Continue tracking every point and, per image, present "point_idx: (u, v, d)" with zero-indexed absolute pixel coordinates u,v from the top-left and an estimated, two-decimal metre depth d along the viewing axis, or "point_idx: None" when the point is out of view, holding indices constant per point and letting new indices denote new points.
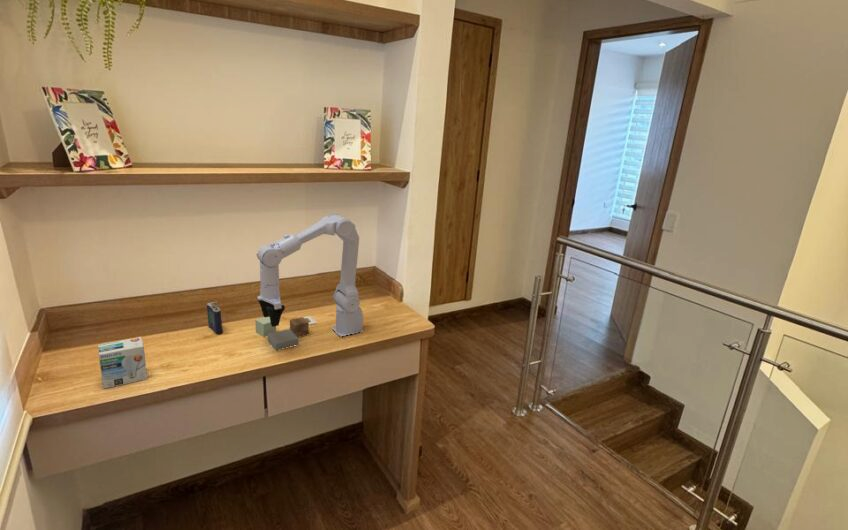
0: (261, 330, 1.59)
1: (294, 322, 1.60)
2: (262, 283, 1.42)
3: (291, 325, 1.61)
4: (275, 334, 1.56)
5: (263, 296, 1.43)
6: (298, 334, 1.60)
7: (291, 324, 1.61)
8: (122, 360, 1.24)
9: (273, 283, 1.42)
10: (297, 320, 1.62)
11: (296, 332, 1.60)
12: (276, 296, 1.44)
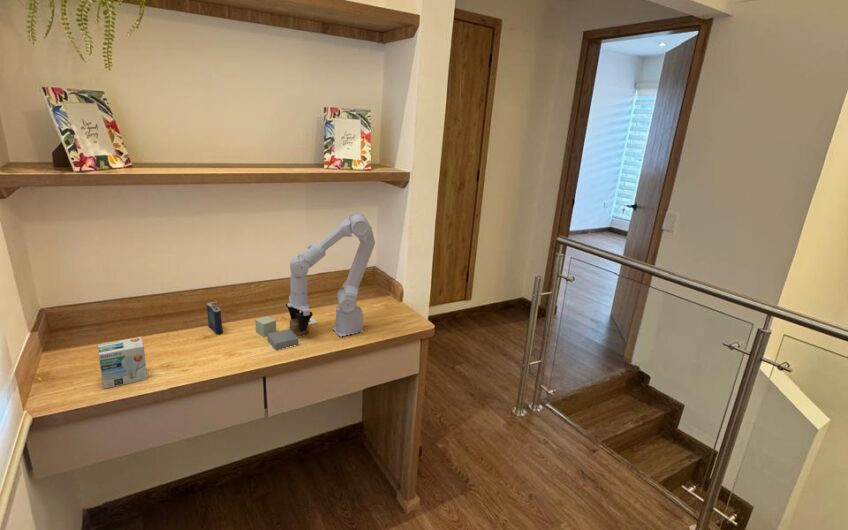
0: (261, 330, 1.59)
1: (294, 322, 1.60)
2: (291, 291, 1.56)
3: (291, 325, 1.61)
4: (275, 334, 1.56)
5: (293, 303, 1.57)
6: (298, 334, 1.60)
7: (291, 324, 1.61)
8: (122, 360, 1.24)
9: (299, 292, 1.55)
10: (297, 320, 1.62)
11: (296, 332, 1.60)
12: (304, 303, 1.58)
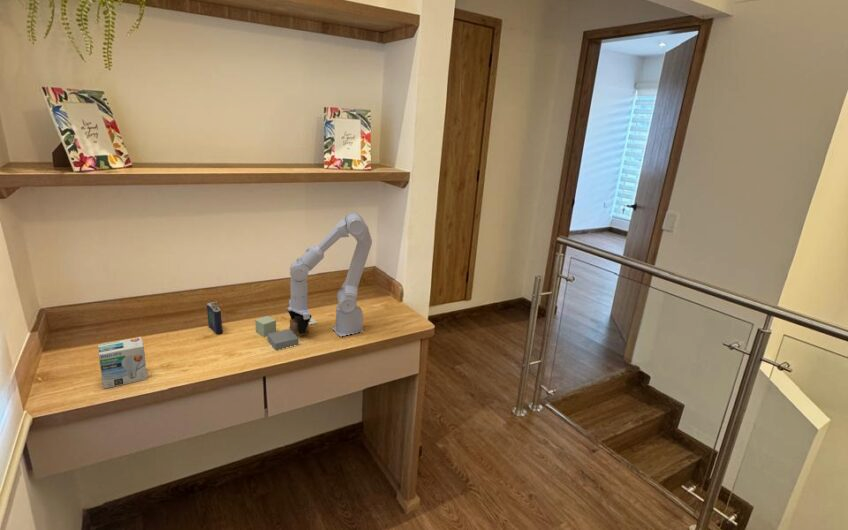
0: (261, 330, 1.59)
1: (294, 322, 1.60)
2: (291, 294, 1.57)
3: (291, 325, 1.61)
4: (275, 334, 1.56)
5: (293, 307, 1.57)
6: (298, 334, 1.60)
7: (291, 324, 1.61)
8: (122, 360, 1.24)
9: (299, 296, 1.56)
10: None
11: (296, 332, 1.60)
12: (304, 307, 1.58)
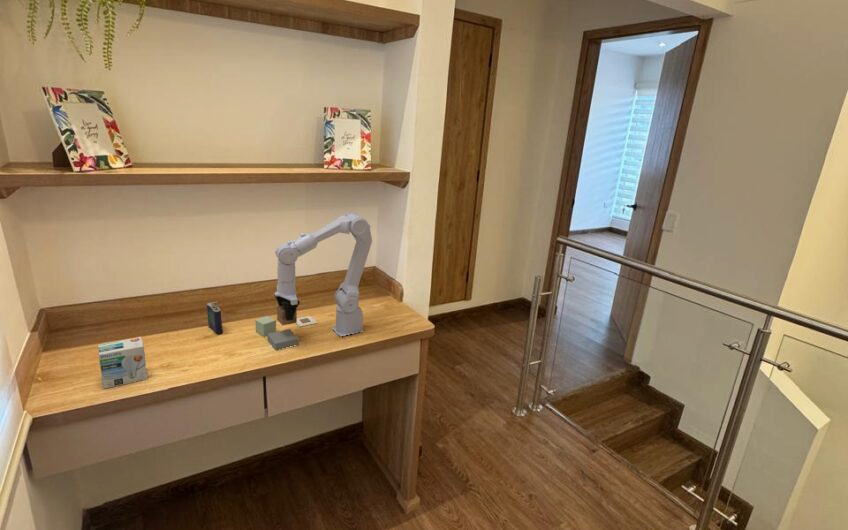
0: (261, 330, 1.59)
1: (282, 309, 1.53)
2: (279, 279, 1.49)
3: (278, 312, 1.54)
4: (275, 334, 1.56)
5: (280, 292, 1.50)
6: (285, 321, 1.53)
7: (278, 311, 1.54)
8: (122, 360, 1.24)
9: (289, 280, 1.48)
10: None
11: (283, 319, 1.52)
12: (292, 292, 1.51)
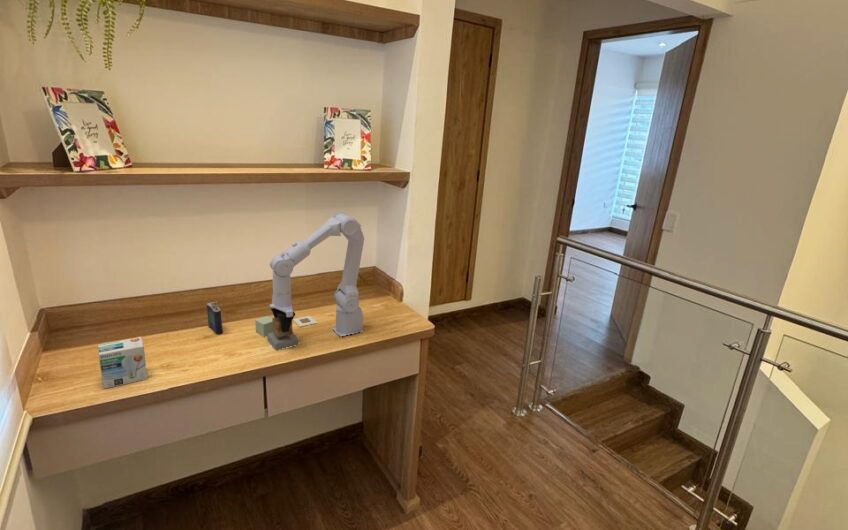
0: (261, 330, 1.59)
1: (277, 321, 1.52)
2: (274, 292, 1.48)
3: (274, 324, 1.53)
4: None
5: (275, 304, 1.49)
6: (281, 333, 1.52)
7: (274, 323, 1.53)
8: (122, 360, 1.24)
9: (284, 292, 1.47)
10: None
11: (279, 331, 1.51)
12: (288, 304, 1.50)
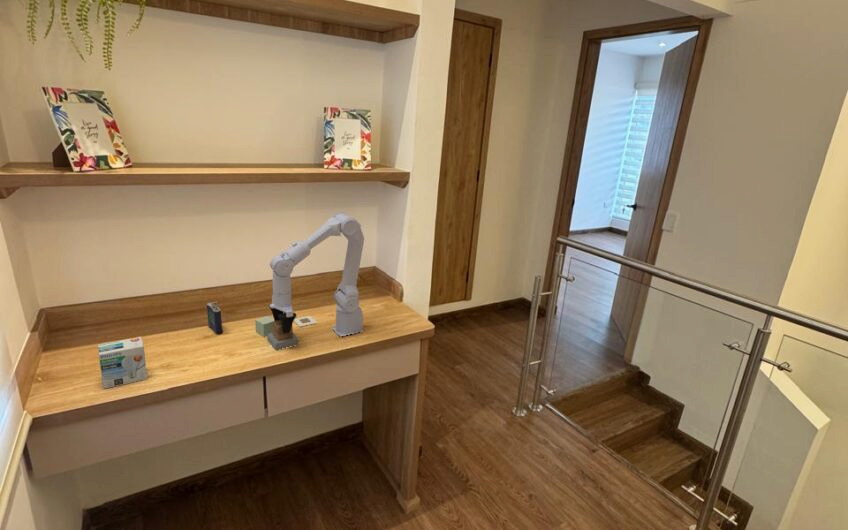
0: (261, 330, 1.59)
1: (277, 324, 1.52)
2: (274, 291, 1.48)
3: (274, 327, 1.53)
4: None
5: (275, 304, 1.49)
6: (281, 337, 1.52)
7: (274, 326, 1.53)
8: (122, 360, 1.24)
9: (284, 292, 1.47)
10: (280, 322, 1.53)
11: (279, 335, 1.51)
12: (288, 304, 1.50)
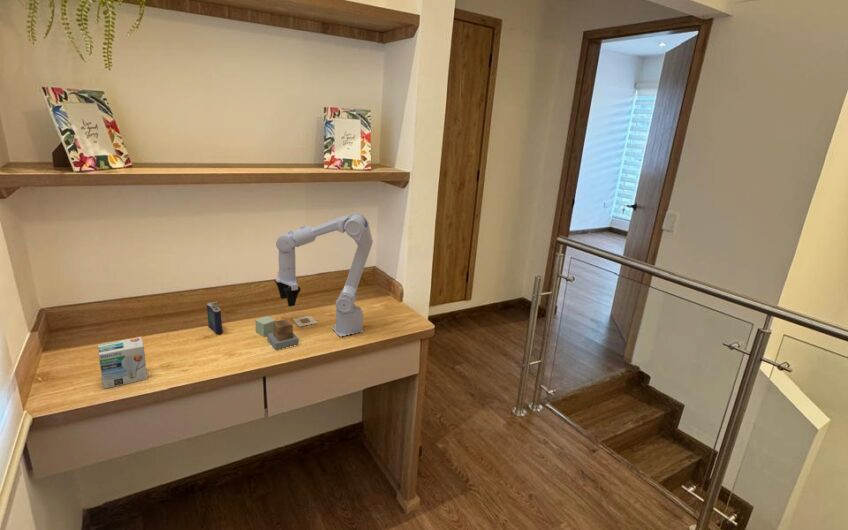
0: (261, 330, 1.59)
1: (278, 324, 1.52)
2: None
3: (274, 327, 1.53)
4: None
5: (281, 279, 1.59)
6: (281, 337, 1.52)
7: (274, 326, 1.53)
8: (122, 360, 1.24)
9: (285, 267, 1.57)
10: (281, 323, 1.53)
11: (279, 335, 1.51)
12: (293, 279, 1.60)
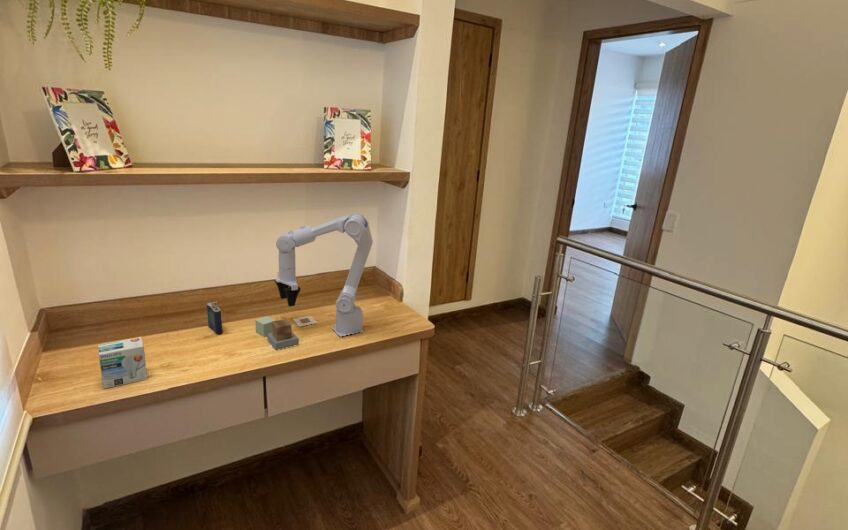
0: (261, 330, 1.59)
1: (276, 324, 1.52)
2: None
3: (273, 327, 1.53)
4: None
5: (281, 279, 1.59)
6: (280, 337, 1.52)
7: (273, 326, 1.53)
8: (122, 360, 1.24)
9: (285, 267, 1.57)
10: (280, 323, 1.53)
11: (278, 335, 1.51)
12: (293, 279, 1.60)
